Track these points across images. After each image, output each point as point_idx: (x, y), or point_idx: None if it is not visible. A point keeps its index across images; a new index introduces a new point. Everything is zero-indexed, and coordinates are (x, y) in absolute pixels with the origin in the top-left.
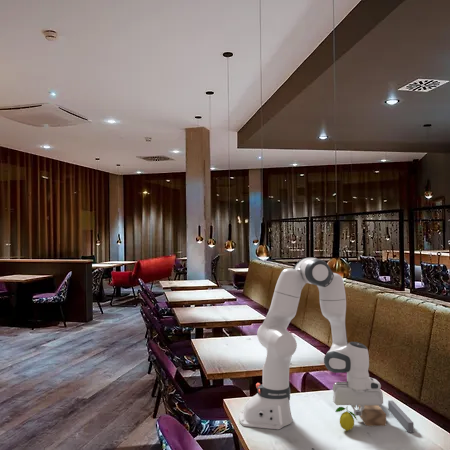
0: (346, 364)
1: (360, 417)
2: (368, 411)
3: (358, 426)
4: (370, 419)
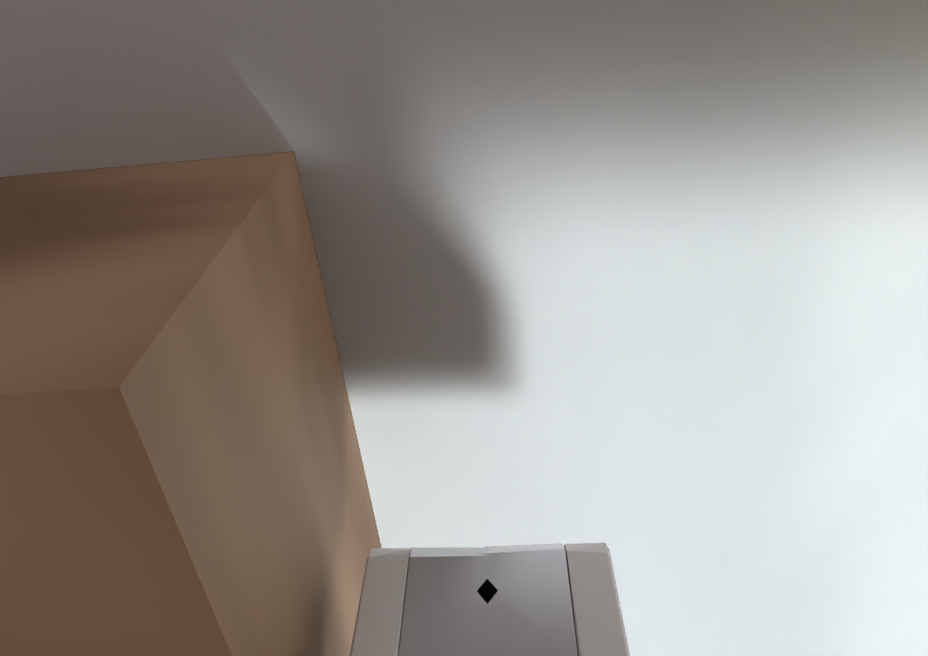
0: None
1: None
2: (23, 640)
3: (585, 70)
4: (51, 251)
